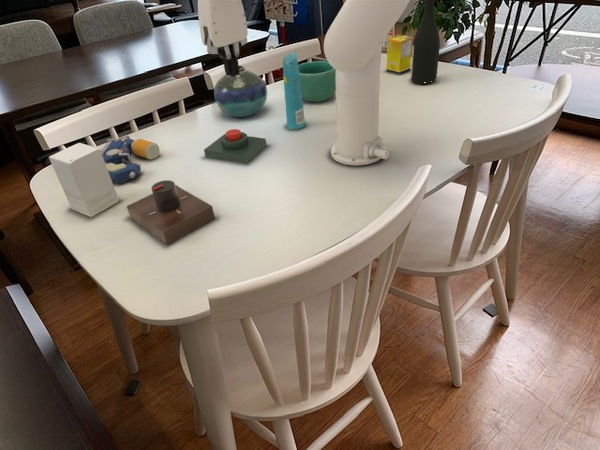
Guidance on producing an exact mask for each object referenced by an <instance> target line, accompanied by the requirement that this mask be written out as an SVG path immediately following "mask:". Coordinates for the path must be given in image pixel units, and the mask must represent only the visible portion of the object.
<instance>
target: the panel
mask: <svg viewBox="0 0 600 450" xmlns="http://www.w3.org/2000/svg"><path fill="white" fill-rule="evenodd" d="M175 187H176V191H177V194H178V198H179V202H180V205H179V207H178V208H176V209H175V210H172V211H168V212H162V211H159V210H158V209H157V206H156V202H155V199H154V196H153V193H151V194H149V195H146V196H145V197H143V198H140V199H138V200H137V201H134V202H131V203H129V204H128V205H126V209H127V211H128V214H129V217H130V219H131V220H133V221H134V222H135V223H137V224H138V225H139V226H140V227H142V228H144V229H145V230H146V231H148V232H149V233H150V234H152V235H153V236H154V237H156V238H157V239H159V240H160V241H161V242H162V243H164V244H165V245H167V246H168V245H170V244H171V243H174V242H175V241H177V240H179V239H180V238H182V237H184V236H186V235H188V234H190V233H192V232H194V231H195V230H197V229H199V228H200V227H202V226H205V225H206V224H207V223H209V222H211V221H213V220H215V219H216V217H215V213H214V208H213V205H211V204H209V203H208V202H207V201H204V200H202V199H201V198H199V197H197V196H195V195H194V194H192V193H190V192H188V191H187V190H185V189H183V188H182V187H180V186H179V185H176V184H175Z"/></svg>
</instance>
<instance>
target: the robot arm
mask: <svg viewBox="0 0 600 450" xmlns="http://www.w3.org/2000/svg"><path fill="white" fill-rule="evenodd" d="M410 1H411V0H345V1H344V3H343V5H342V6H341V8H340V10H339V11H338V13H337V15H336V16H335V18H334V20H333V21H332V23H331V24H330V26H329V28H328V29H327V32H326V34H325V36H324V40H323V53H324V57H325V59H326V62H329V64H330V65H331V66H332V67H333V68H334V69H336V74H335V82H336V90H335V116H336V119H335V120H336V143H334V144H333V145H332V147H331V148H330V156H331V158H332V159H333V160H334V161H335V162H338V163H340V164H342V165H347V166H366V165H370V164H373V163H376V162H379V161H380V160H382V159H383V160H388V158H389V157H390V152H391V149H392V148H391V146H389V145H384V144H383V137H382V136H379V117H380V90H381V89H380V87H381V66H382V65H381V63H382V53H383V51H382V50H383V42H384V40H385V39H386V38H387V36H388V35H389V33H390V32H391V30H392V29H393V28H394V26H395V25H396V23H397V22H398V20H399V19H400V17H401V16H402V15H403V13H404V12H405V10H406V9H407V7H408V5H409V3H410ZM197 16H198V17H197V18H198V25H199V32H200V37H201V42H202V44H203V46H206V51H207V52H206V53H208V54H210V55H218V56H219V58H220V59H222V63H223V69H224V72H225V74H226V75H229V76H233V77H234V76H236V75H239V74H240V72H239V66H240V65H239V59H238V57H239V56H240V50H241V48H242V47H243V46H244V45H246V44H247V43H248V31H249V30H248V24H247V18H246V13H245V9H244V5H243V2H242V0H197Z"/></svg>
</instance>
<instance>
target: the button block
mask: <svg viewBox="0 0 600 450" xmlns="http://www.w3.org/2000/svg"><path fill="white" fill-rule="evenodd" d="M267 147H268V146H267V138H265V137H259V136H258V137H256V136H250V135H248V134H247V133H246V132H245V131H244V132H243V131H241V139H239V140H236V141H228V140H227V137H226V132H225V133H224V134H222V135H221V136H220V137H219V138H217V139H216V140H214V141H213V142H212V143H211V144H209V145H208V146H206V147H205V148H204V150H203V152H204V156H205V158H207V159H212V160H220V161H225V162H231V163H238V164H245V165H248V164H249V163H250V162H251V161H252V160H253V159H255V158H256V157H257V156H258V155H259V154H261V152H262V151H263V150H264V149H266V148H267Z"/></svg>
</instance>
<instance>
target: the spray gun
mask: <svg viewBox="0 0 600 450" xmlns="http://www.w3.org/2000/svg"><path fill="white" fill-rule="evenodd" d="M100 151H101V153H102V156H103V159H104V162H105V164H106V167H107V170H108V172H109V175H110V178H111V180H112V183H116V184H121V183H124V182H126V181H130V180H133V179H135V178H137V177H138V175H139V174H140V172H141V164H140V163H139V162H137V163H136V162H134V163H133V160H132V155H131V151H132V152H133V154H134V155H135V156H139V157H142V158H144V159H148V160H151V161H153V160H156V159H157V158H158V157H159V155H160V147H159V144H157V143H155V142H153V141H149V140H145V139H142V138H138V139H136V140H135V139H132V138H131V137H130V135H128V134H126V135H123V136H121V137H115V138H114V137H113V138H108V139H106V144H105V145H104V146H103V148H102V149H100Z"/></svg>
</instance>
